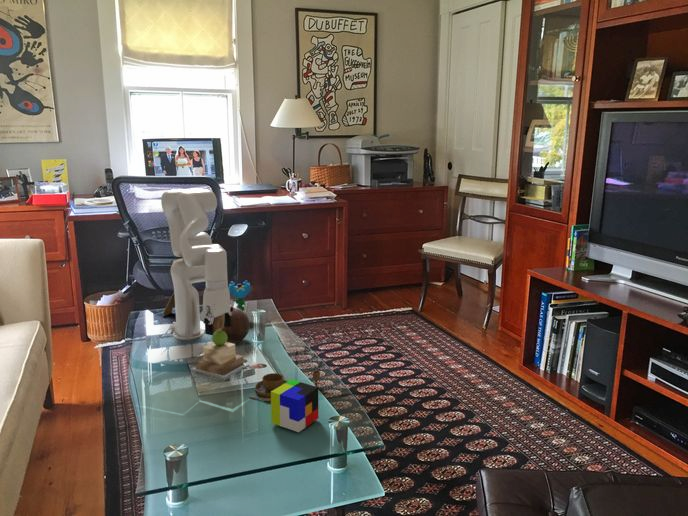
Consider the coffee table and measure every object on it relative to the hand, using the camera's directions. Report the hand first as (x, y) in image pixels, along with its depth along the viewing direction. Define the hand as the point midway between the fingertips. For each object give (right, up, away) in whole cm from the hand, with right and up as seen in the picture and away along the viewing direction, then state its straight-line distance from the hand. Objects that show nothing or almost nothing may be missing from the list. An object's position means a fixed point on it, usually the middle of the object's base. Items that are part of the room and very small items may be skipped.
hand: (218, 330), depth 206 cm
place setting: (+25, -19, -14) cm, 34 cm away
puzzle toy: (+30, -23, -33) cm, 50 cm away
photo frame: (-30, -1, +60) cm, 67 cm away
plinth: (0, -13, +3) cm, 14 cm away
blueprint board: (0, -14, +3) cm, 15 cm away
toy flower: (-2, -3, +54) cm, 54 cm away
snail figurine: (0, -6, +2) cm, 6 cm away
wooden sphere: (-1, -9, +28) cm, 29 cm away
